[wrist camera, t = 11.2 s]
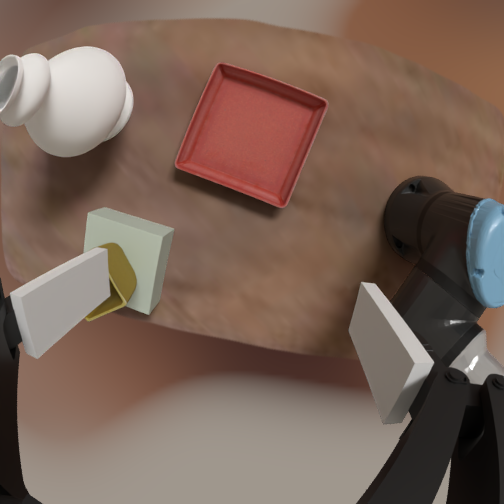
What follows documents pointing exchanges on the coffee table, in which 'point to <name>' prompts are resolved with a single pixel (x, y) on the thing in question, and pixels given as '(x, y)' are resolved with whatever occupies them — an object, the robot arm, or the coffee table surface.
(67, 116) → the decorative vase
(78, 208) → the coffee table surface
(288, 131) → the plant saucer
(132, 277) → the flower pot
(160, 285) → the sage block
